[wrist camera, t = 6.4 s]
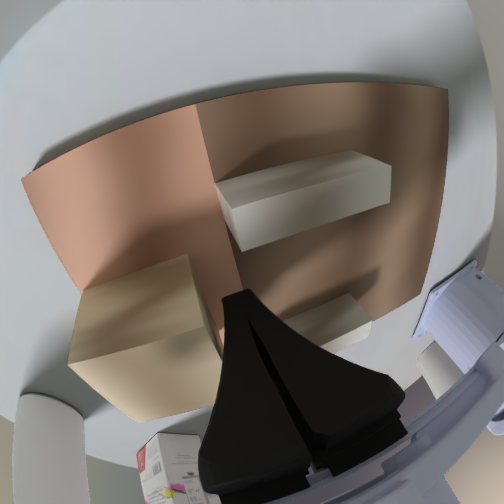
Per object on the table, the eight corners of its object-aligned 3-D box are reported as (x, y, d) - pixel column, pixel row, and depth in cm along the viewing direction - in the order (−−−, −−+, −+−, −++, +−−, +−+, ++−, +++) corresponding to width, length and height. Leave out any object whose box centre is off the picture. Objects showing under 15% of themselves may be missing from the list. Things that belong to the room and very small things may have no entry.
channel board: (435, 87, 11) (482, 97, 8) (413, 286, 20) (439, 312, 17) (31, 172, 8) (-12, 204, 5) (168, 388, 17) (175, 431, 14)
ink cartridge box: (172, 456, 25) (202, 554, 13) (134, 453, 23) (161, 558, 11) (202, 434, 23) (245, 555, 11) (157, 430, 20) (194, 566, 8)
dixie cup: (438, 330, 30) (479, 377, 22) (451, 332, 34) (486, 371, 26) (401, 372, 33) (436, 419, 25) (420, 368, 37) (450, 407, 29)
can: (14, 405, 13) (13, 519, 4) (24, 381, 13) (21, 527, 3) (72, 430, 17) (84, 537, 8) (94, 411, 16) (112, 544, 7)
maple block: (187, 253, 11) (204, 326, 7) (218, 331, 14) (240, 396, 10) (83, 290, 10) (67, 364, 7) (132, 357, 13) (137, 422, 10)
